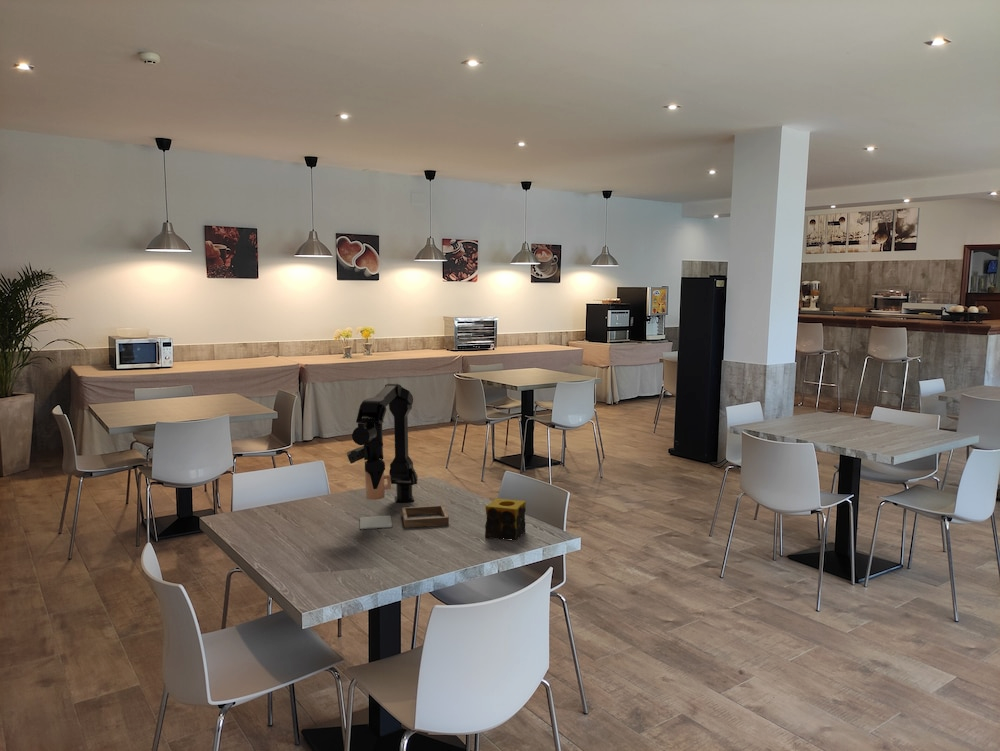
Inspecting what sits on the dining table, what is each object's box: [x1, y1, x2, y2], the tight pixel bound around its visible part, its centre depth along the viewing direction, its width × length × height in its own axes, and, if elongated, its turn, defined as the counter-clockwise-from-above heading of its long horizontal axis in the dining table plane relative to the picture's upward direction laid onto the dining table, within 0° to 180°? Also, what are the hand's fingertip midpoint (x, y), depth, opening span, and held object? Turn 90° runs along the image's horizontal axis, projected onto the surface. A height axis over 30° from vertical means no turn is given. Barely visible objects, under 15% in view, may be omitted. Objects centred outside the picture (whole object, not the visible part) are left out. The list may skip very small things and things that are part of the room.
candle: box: [484, 498, 527, 541], centre depth 222 cm, size 10×10×10 cm
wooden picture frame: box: [401, 504, 450, 529], centre depth 237 cm, size 14×14×2 cm
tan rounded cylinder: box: [364, 470, 392, 501], centre depth 233 cm, size 6×8×9 cm
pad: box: [359, 515, 393, 531], centre depth 234 cm, size 12×10×1 cm
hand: (374, 486), depth 233 cm, fingers closed on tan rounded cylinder, 6 cm apart
